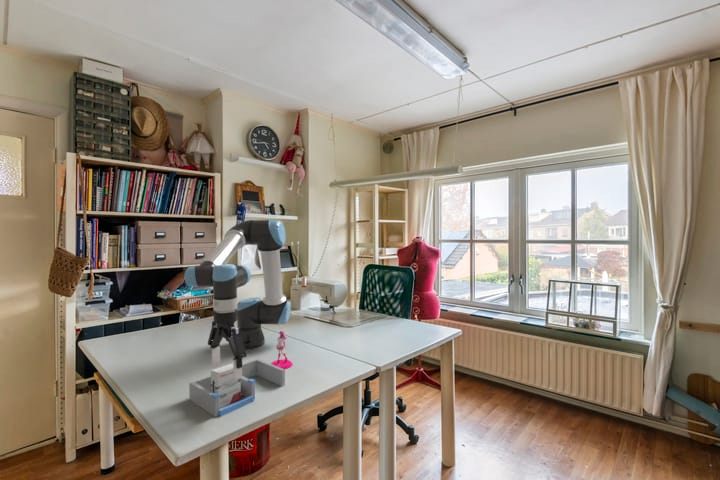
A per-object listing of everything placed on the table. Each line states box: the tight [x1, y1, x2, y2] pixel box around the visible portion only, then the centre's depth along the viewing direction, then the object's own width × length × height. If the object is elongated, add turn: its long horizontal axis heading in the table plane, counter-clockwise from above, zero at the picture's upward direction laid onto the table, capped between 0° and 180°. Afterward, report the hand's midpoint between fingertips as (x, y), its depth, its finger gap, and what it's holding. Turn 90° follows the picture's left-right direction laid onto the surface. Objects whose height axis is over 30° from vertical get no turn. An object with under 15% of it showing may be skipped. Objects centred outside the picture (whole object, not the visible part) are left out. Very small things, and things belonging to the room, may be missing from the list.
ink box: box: [210, 362, 242, 409], centre depth 116 cm, size 8×5×12 cm, turn 141°
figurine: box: [270, 330, 294, 370], centre depth 147 cm, size 10×10×15 cm
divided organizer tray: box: [188, 358, 286, 417], centre depth 123 cm, size 18×28×7 cm, turn 142°
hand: (226, 371), depth 116 cm, fingers open, 13 cm apart
